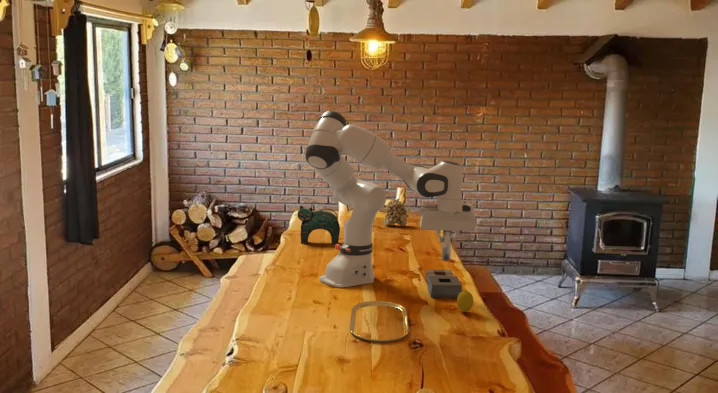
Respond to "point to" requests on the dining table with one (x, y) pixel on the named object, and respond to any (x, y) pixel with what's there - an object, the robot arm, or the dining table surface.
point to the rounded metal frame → (377, 303)
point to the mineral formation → (395, 213)
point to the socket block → (437, 273)
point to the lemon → (465, 301)
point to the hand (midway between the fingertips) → (446, 241)
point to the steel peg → (446, 245)
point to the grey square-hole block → (444, 286)
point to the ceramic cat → (318, 223)
